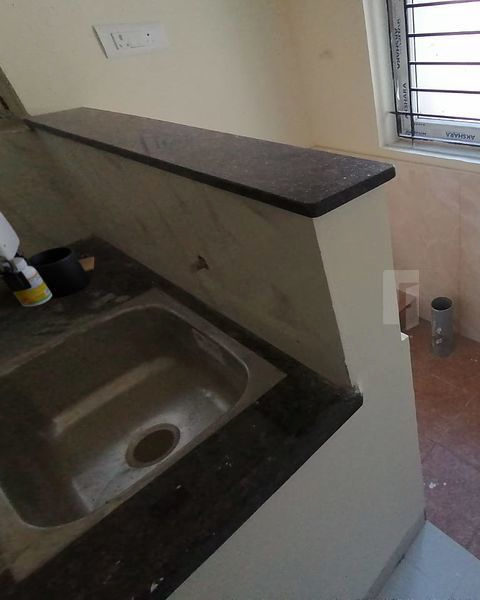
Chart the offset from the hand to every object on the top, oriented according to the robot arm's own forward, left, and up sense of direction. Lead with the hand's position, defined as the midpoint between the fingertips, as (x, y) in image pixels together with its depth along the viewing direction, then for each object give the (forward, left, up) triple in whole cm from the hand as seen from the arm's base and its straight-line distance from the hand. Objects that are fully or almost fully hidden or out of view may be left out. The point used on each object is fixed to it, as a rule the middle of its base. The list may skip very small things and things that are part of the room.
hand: (24, 281), depth 82 cm
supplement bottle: (0, 0, -5) cm, 5 cm away
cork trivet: (+4, +25, -11) cm, 27 cm away
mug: (+1, +15, -11) cm, 18 cm away
